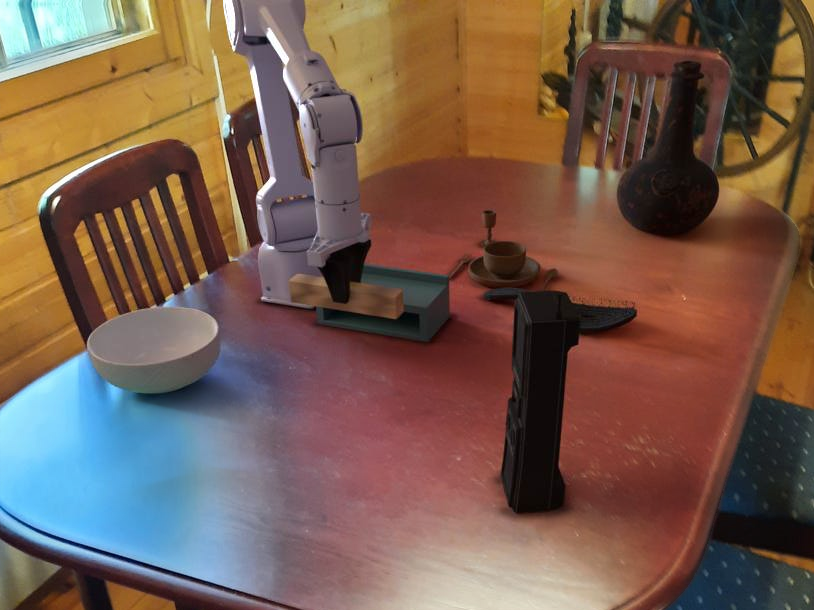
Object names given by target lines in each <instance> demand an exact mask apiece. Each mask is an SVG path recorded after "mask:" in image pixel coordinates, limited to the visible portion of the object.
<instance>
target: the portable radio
mask: <svg viewBox="0 0 814 610" xmlns="http://www.w3.org/2000/svg"><path fill="white" fill-rule="evenodd" d="M571 301H572V299H571V298H570V297H569V294H568V292H566V291H561V290H555V289H554V290H551V289H547V290H543V291H540V290H529V292H519V294H518V298H516V300H514V306H513V327H512V328H513V329H512V349H511V371H512V375H513V380H512V387H511V397H508V399H507V408H506V417H505V423H504V424H505V431H504V432H505V434H504V444H503V453H502V462H501V469H500V479H501V483H502V487H503V491H504V495H505V499H506V502H507V506H508V507H509V508H510V509H512V512H513V513H515V514H527V513H529V514H530V513H542V512H551V511H555V510H558V509H561V508H563V507H565V506H564V505H565V498H566V497H565V496H566V495H565V494H566V483H565V480H564V477H563V474H562V471H561V469H560V467H559V466H560V452H561V443H562V442H561V441H562V427H563V419H564V417H563V416H564V405H565V403H564V402H565V393H566V382H567V367H568V357H569V356H568V355H569V352H570V351H571V349H572V348H573V347H576V346H578V345H579V342H580V334H581V333H580V318H579V316H578V314H577V312H576V310H575V308H574V306H573V304H572V303H573V301H572V302H571Z"/></svg>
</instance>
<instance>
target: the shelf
mask: <svg viewBox="0 0 814 610" xmlns="http://www.w3.org/2000/svg"><path fill="white" fill-rule="evenodd" d="M449 276H450V274H442V273H435V272H434V273H433V272H428V271H419V270H415V269H414V270H413V269H406V268H399V267H392V266H385V265H377V264H371V263H364V266H363V271H362V277H361V283H363V284H370V285H376V286H383V287H389V288H396V289H403V303H404V312H403V313H402V314H401V315H400V316H399V317H398V318H397V319H391V318H385V317H379V316H373V315H367V314H361V313H355V312H348V311H342V310H336V309H330V308H324V307H318V306H316V307H315V309H316V311H315V312H316V319H317V325H322V326H327V327H334V328H340V329H345V330H351V331H357V332H364V333H367V334H368V333H369V334H375V335H381V336H387V337H394V338H397V339H398V338H400V339H404V340H411V341H417V342H422V343H429V342H430V340H432V338H433V337H434V335H436V333H437V332H438V331H439V330H440V329H441V328H442V326H443V325H444V324H445V323H446V322H447V321H448V319H449V318H450V317H451V316H450V311H451V310H450V309H451V308H450V307H451V306H450V278H449Z"/></svg>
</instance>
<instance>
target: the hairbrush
mask: <svg viewBox="0 0 814 610" xmlns="http://www.w3.org/2000/svg"><path fill="white" fill-rule="evenodd" d="M529 291H530V290H528V289H523V288H519V287H517V288H512V287H511V288H493V289H489V290H486V291H484V292H483V299H484V300H488V301H515V300H516V298H518V294H519V292H529ZM568 296H569V298H570V297H571V295H569V294H568ZM575 300H576V296H573V298H572V300H571V302H572V304H573V306H574V308H575V310H576V312H577V314H578V316H579V318H580V333H579V334H601V333H603V332H607V331H611V330H615V329H618V328H620V327H622V326H624V325H627V324H628V323H630V322H632V321H633V320H634V319H635V318H636V317H637V316H638V314H637V313H638V309H636V308H635V305H636V302H633V301H631V300H630V301H629V303H631V305H633V306H631V305H629V306H628V305H627V303H628V300H625V303H624V301H622V302H621V303H622V304H620V303H619V302H620V300H617V303H618V304H617V303H613V302H611V301H612V300H611V299H609V300H608V302H606V300H605V299H604V300H603V299H600V303H599V304H598V305H596V304H595V303H593V301H594V298H592V300H591V303H589V304H586V303H588V300H586V303H585V302H584V300H585V297H582V300H581V297H579V301H578V303H577V302H575ZM580 300H581V301H580ZM580 302H581V303H580ZM603 302H606V303H605V304H603ZM605 305H607V306H605ZM614 305H615V306H614ZM621 305H622V306H621ZM623 306H626V307H623Z"/></svg>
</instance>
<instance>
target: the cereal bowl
mask: <svg viewBox="0 0 814 610" xmlns="http://www.w3.org/2000/svg"><path fill="white" fill-rule="evenodd" d="M221 341H222V340H221V331H220V326H219V324H218V321H217V320H216V319H215V318H214V317H213V316H212V315H210V314H208V313H206V312H205V311H202V310H199V309H195V308H190V307H185V306H156V307H147V308H142V309H137V310H132V311H130V312H126V313H123V314H119V315H117V316H115V317H113V318H111V319H109V320H107V321H105V322H104V323H102V324H101V325H99V326H98V327H96V328H95V329H94V330H93V331H92V332H91V333H90V335H89V337H88V338H87V342H86V349H87V352H88V355H89V359H90V361H91V364H92V366H93V367H94V369H95V371H96V372H97V374H98V375H99V376H100V377H101V378H102V379H103V380H104V381H106V382H107V383H108V384H110V385H111V386H113V387H115V388H118V389H119V390H123V391H127V392H130V393H131V392H132V393H136V394H137V393H139V394H167V393H171V392H174V391H178V390H180V389H182V388H185V387H187V386H190V385H192V384H194V383H195V382H197V381H199V380H200V379H202V378H203V377H205V376H206V375H207V374H208V373H209V372H210V371H211V370H212V368H214V366H215V364H216V363H217V361H218V358H219V356H220V352H221Z"/></svg>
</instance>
